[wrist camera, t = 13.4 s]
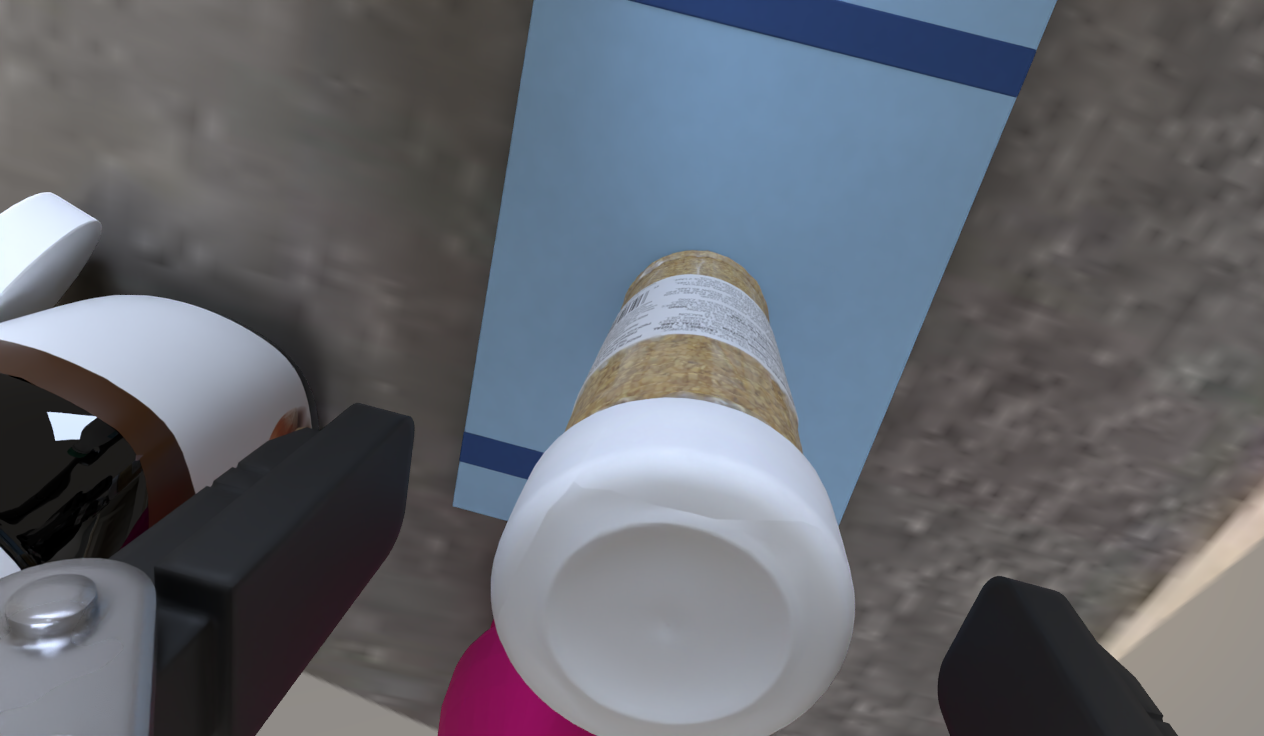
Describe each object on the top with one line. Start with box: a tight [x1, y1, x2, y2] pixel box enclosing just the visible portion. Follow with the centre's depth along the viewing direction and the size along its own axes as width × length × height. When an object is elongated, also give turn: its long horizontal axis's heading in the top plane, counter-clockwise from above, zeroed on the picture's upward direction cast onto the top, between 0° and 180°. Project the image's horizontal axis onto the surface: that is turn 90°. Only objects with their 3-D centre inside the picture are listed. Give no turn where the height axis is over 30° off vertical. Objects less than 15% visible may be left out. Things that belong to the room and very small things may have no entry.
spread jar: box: [0, 192, 319, 579], centre depth 19 cm, size 12×11×12 cm
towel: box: [453, 0, 1057, 526], centre depth 20 cm, size 20×13×1 cm, turn 167°
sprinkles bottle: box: [491, 250, 855, 736], centre depth 14 cm, size 5×5×13 cm
